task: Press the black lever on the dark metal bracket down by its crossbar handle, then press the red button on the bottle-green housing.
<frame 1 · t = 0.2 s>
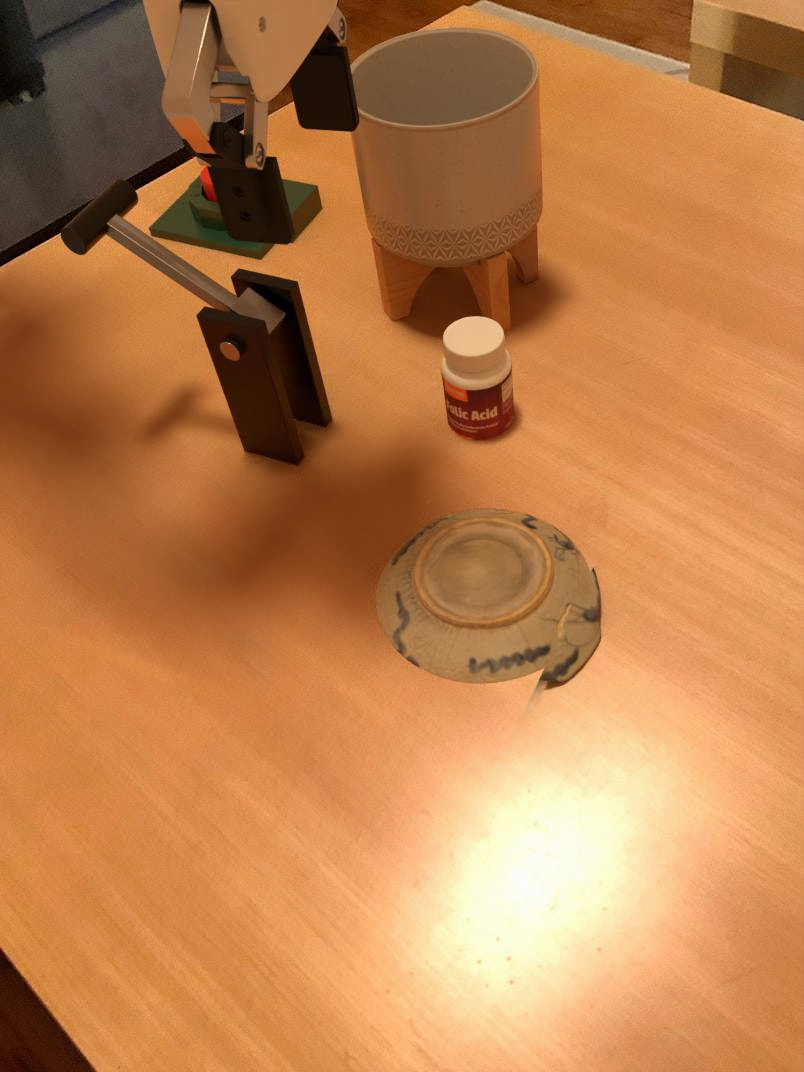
hand: (298, 180, 51), 24 cm above the table, tool pointing down, fingers open, 9 cm apart
bracket: (293, 449, 75), on the table
lever: (181, 272, 65), point 14 cm above the table, hinge at 30.0°
decorative bowl: (487, 606, 65), on the table
pill bottle: (482, 433, 74), on the table
button box: (240, 229, 91), on the table
button: (226, 181, 87), point 4 cm above the table, slide at 0.1 cm
planter: (464, 304, 83), on the table
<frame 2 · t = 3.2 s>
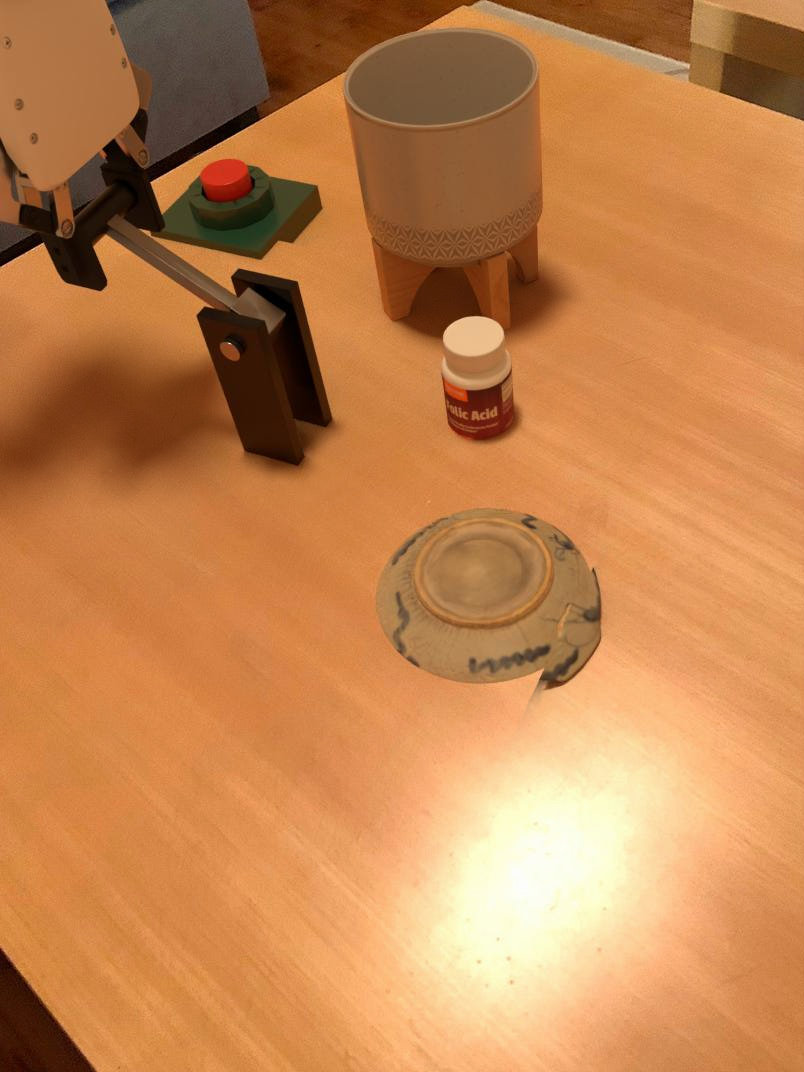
hand: (114, 252, 66), 14 cm above the table, tool pointing down, fingers closed on lever, 5 cm apart
lever: (181, 272, 65), point 14 cm above the table, hinge at 30.0°, touching gripper
everything else where it was.
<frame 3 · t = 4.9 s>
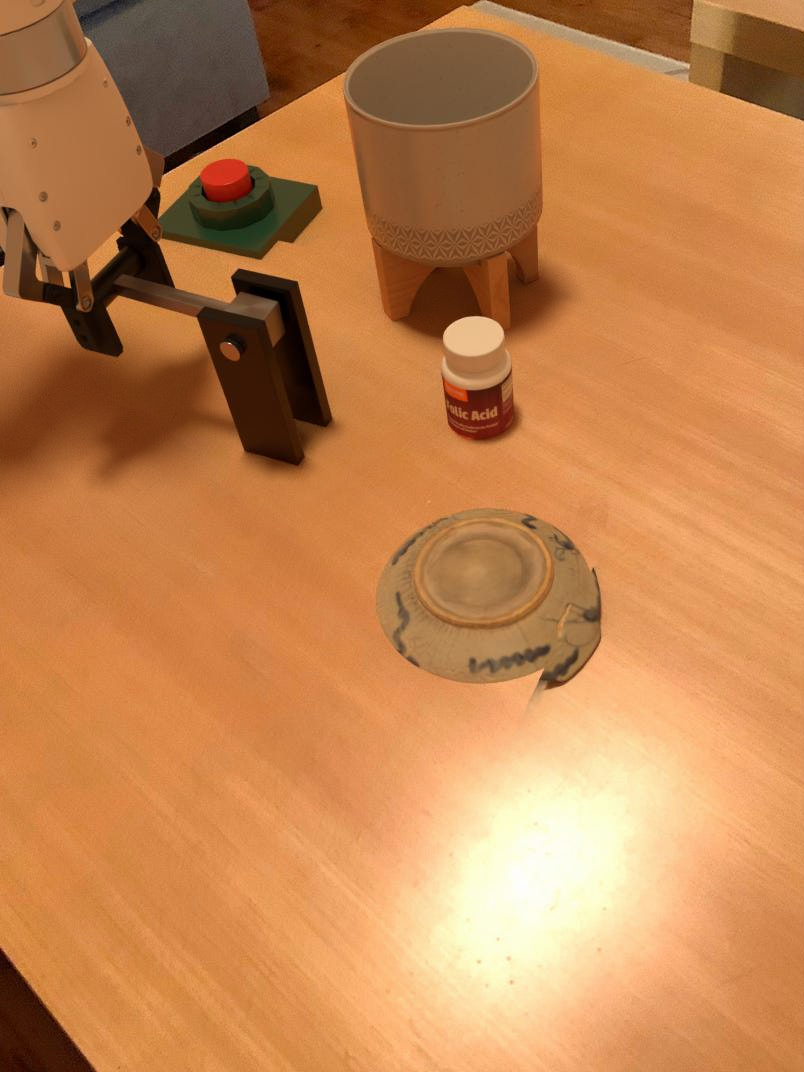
hand: (130, 319, 71), 9 cm above the table, tool pointing down, fingers closed on lever, 5 cm apart
lever: (184, 302, 67), point 11 cm above the table, hinge at 2.6°, touching gripper
everything else where it was.
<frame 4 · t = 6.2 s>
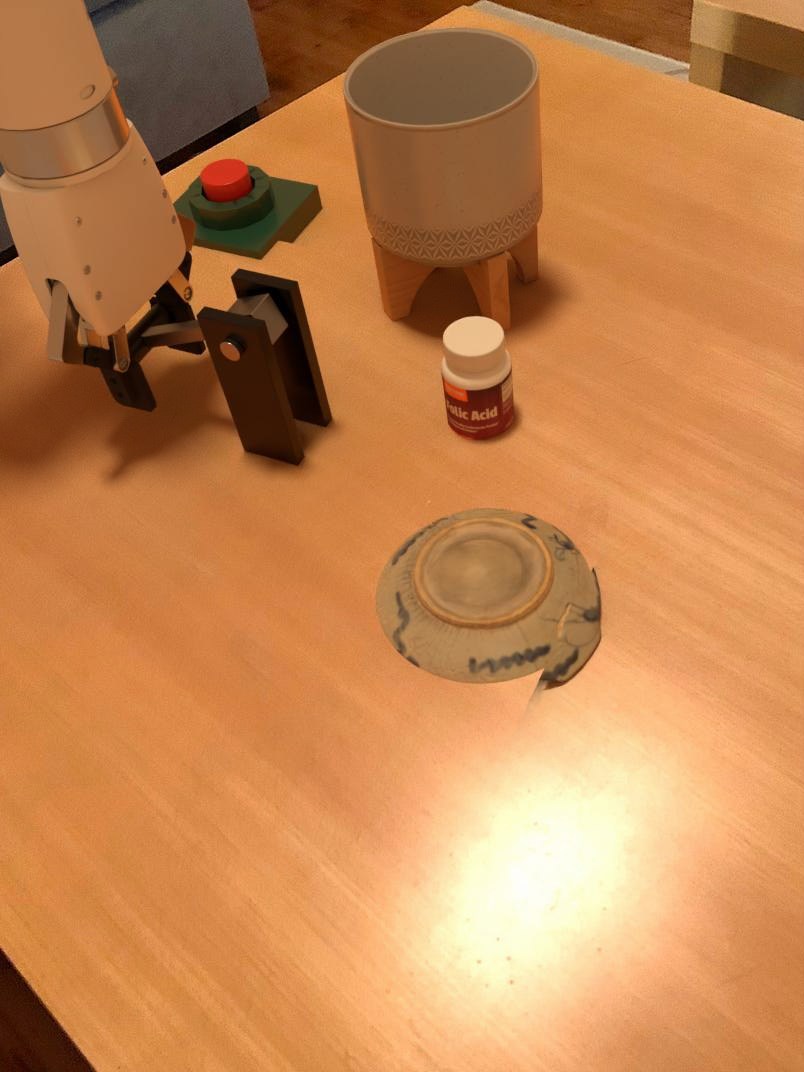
hand: (161, 374, 74), 4 cm above the table, tool pointing down, fingers closed on lever, 5 cm apart
lever: (198, 330, 69), point 9 cm above the table, hinge at -20.8°, touching gripper
everything else where it was.
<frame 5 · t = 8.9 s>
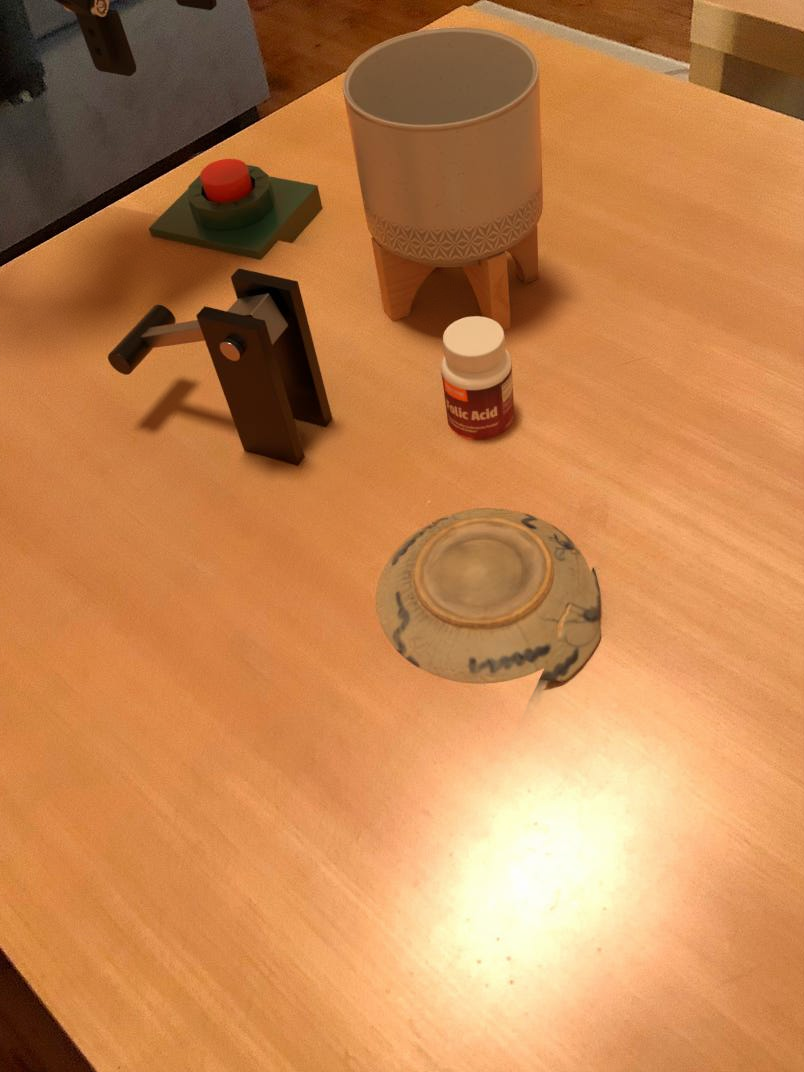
hand: (158, 37, 73), 18 cm above the table, tool pointing down, fingers open, 9 cm apart
lever: (198, 330, 69), point 9 cm above the table, hinge at -21.0°
everything else where it was.
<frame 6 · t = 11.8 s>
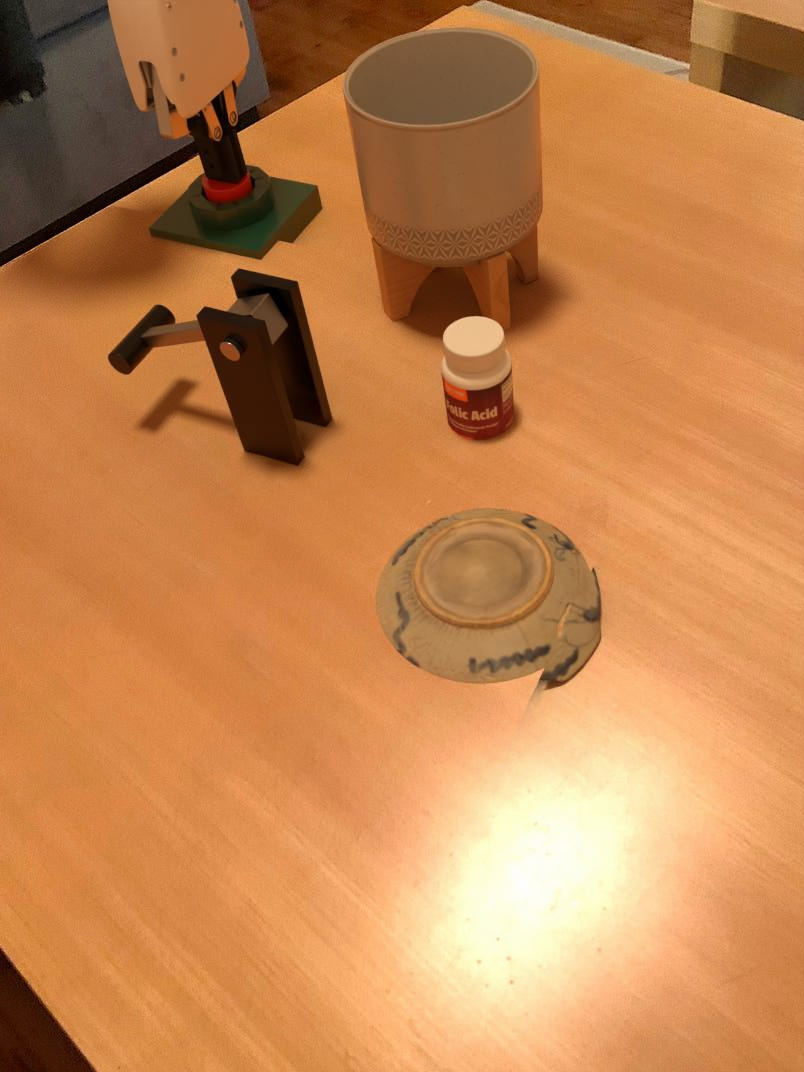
hand: (227, 176, 87), 5 cm above the table, tool pointing down, fingers closed
button: (228, 186, 88), point 4 cm above the table, slide at -0.4 cm, touching gripper
everything else where it was.
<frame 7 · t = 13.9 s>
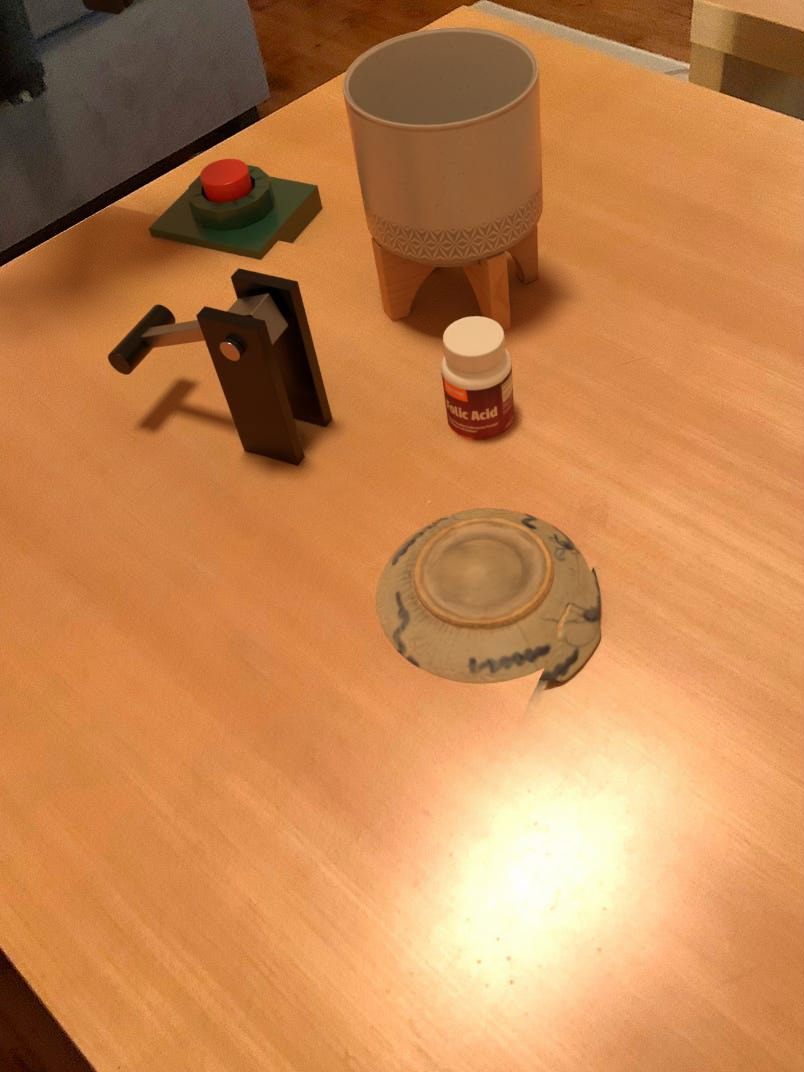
hand: (109, 6, 74), 19 cm above the table, tool pointing down, fingers closed
button: (226, 181, 87), point 4 cm above the table, slide at 0.1 cm
everything else where it was.
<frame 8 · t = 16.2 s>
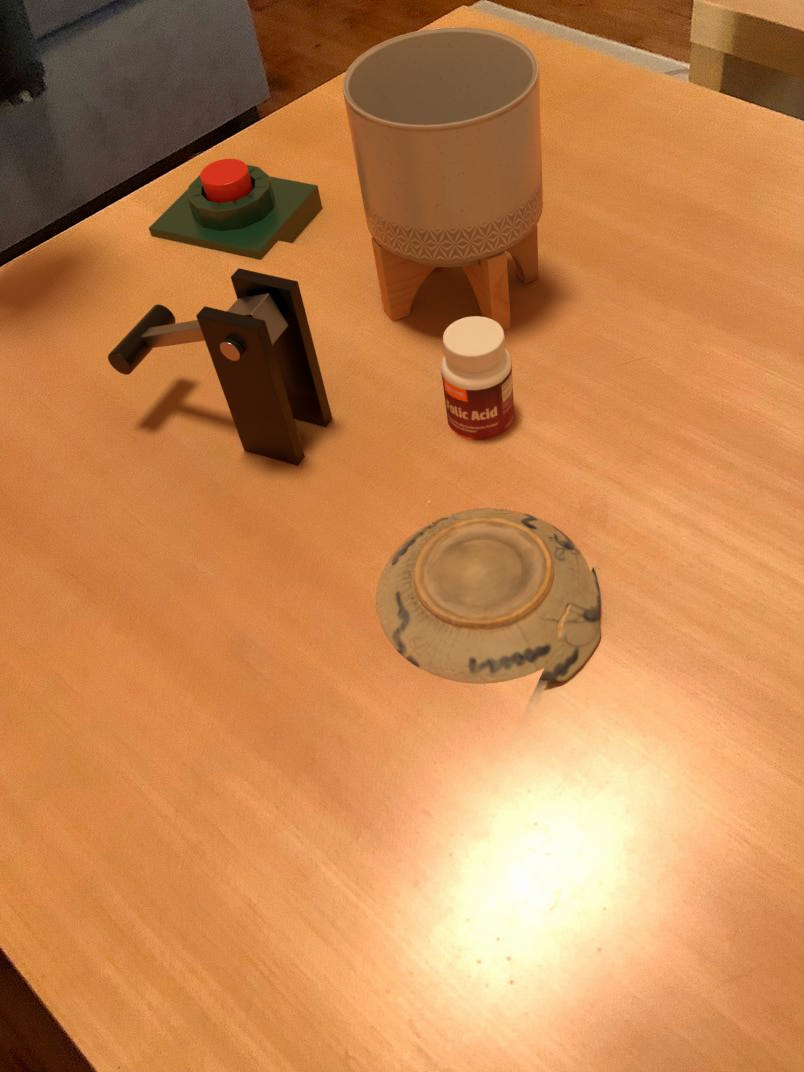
nothing on the table moved.
at the end: lever at -21° (first picture: +30°); button pushed in 1.1 cm at the most during the clip, back to where it started at the end; button slide at 0.1 cm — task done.
